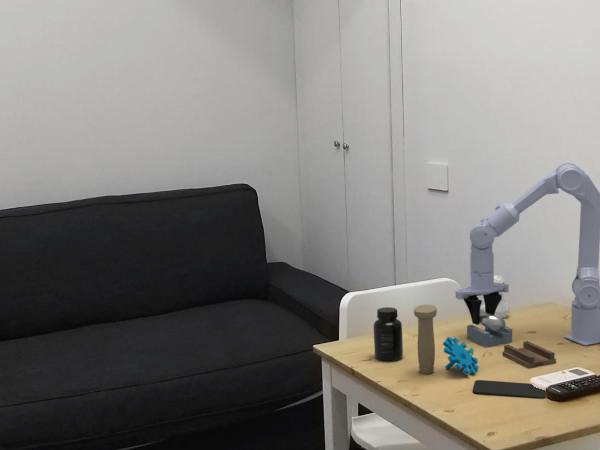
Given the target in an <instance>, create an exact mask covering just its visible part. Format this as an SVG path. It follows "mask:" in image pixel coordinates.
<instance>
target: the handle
mask: <svg viewBox="0 0 600 450" xmlns="http://www.w3.org/2000/svg"><path fill="white" fill-rule="evenodd" d="M437 309H438V308H437V307H436V305H432V304H420V305H417V306H415V307H414V309H413V313H414V317H416V318H417V322H418V323H417V324H418V325H417V360H418V369H419V372H420V373H421V374H423V375H426V374H427V375H430V374H433V373H434V372H435V366H434V365H435V361H436V357H435V356H436V344H435V333H434V318H435V317H436V316H437V311H438V310H437Z"/></svg>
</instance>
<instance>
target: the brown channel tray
mask: <svg viewBox="0 0 600 450" xmlns="http://www.w3.org/2000/svg"><path fill="white" fill-rule="evenodd" d="M502 356H503V357H504V358H506V359H509V360H510V361H513V362H515V363H517V364H518V365H521V366H523V367H525V368H527V369H531V368H537V367H542V366H543V367H544V366H548V365H552V364H557V358H555V352H553V351H551V350H548V349H547V348H544V347H542V346H540V345H538V344H536V343H533V342H530V341H528V340H524V341H523V343H522V347H520V348H519V347H518V348H516V347H514V346H512V345H510V344H503V351H502Z"/></svg>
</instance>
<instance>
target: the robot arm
mask: <svg viewBox="0 0 600 450" xmlns="http://www.w3.org/2000/svg"><path fill="white" fill-rule="evenodd" d="M559 189H560V190H561V191H563V192H565V193H566V194H568V195H571V196H572V197H574V198H575V199H576V200H577V201H578V202H579V203H580V216H579V219H580V220H579V235H578V237H579V238H578V259H577V267H576V273H575V274H576V276H575V278H574V279H573V281H572V283H571V289H572V290H571V291H572V292H573V295H574V296H575V297H574V299H573V300H572V301H571V320H570V321H571V322H570V326H571V329H570V330H571V333H570V334H568V333H567V334H564V335H563V338H565V339H567V340H570V341H572V342H575V343H577V344H579V345H582V346H590V345H594V344H600V271H599V266H600V265H599V262H600V261H599V260H600V191H599V190H598V188H597V186H596V185H595V184H594V182H593V181H592V178H590V176H589V175H588V174H587V173H586V172H585V171H584V170H583V169H581V168H580V167H579V166H577V165H576V164H574V163H571V162H566V163H562V164H560V165H559V166H558V167H557V168H556V169H553V170H551V171H549V172H548V173H547V174H545V175H544V176H543V177H541V178H540V179H539V180H538V181H537V182H535V183H534V184H533V185H532V186H530V187H529V188H528V189H527V190H526V191H525V192H523V193H522V194H521V195H520V196H519V197H518V198H517V199H515V200H514V201H513V202H512V203H506V202H504V203H502V204H501V205H500V204H499V203H498V204H497V205H496V206H495V207H494V211H492V212H491V213H490V214H488V215H487V216H486V217H485V218H484V217H481V219H480V220H479V221H480V222H477V223H476V224H474V225H473V226H472V227H471V229H470V231H469V240H470V243H471V244H470V253H469V254H470V257H469V258H470V260H469V261H470V286H467V287H465V288H461V289H458V290H457V289H456V290H455V299H457V300H459V301H461V300H463V301H464V303H465V305H466V307H467V309H468V312H469V314H470V318H472V319H471V322H472V324H474V325H475V326H478V325H480V324H479V322H480V307H481V306H482V303H483V302H484V305H485V312H487V313H490V314H492V315H495V311H496V309H497V306H498V304H499V302H500V301H501V299H502V295H500V294H499V293H500V292H502V293H509V285H510V284H507V283H505V282H504V283H502V284H494V275H495V274H494V273H495V272H494V270H495V269H494V259H495V258H494V252H493V244H494V242H495V238H498V237H501V236H502V235H503V234H504V233H506V232H507V231H508V230H509V229H510V228H512V227H513V226H515V225H516V224H517V223H518V222H519V221H520V215H521V213H523V212H524V211H526V210H527V209H528V208H530V207H531V206H533V204H535V203H536V202H538V201H540V200H541V199H542V198H544V197H545V196H546V195H554V194H555V195H556V194H560V192H559ZM481 296H483V300H484V301H483V300H482V299H480V298H479V297H481Z"/></svg>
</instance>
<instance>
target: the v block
mask: <svg viewBox="0 0 600 450" xmlns="http://www.w3.org/2000/svg"><path fill="white" fill-rule="evenodd" d="M466 339H467V340H468V341H471V342H473V343H475V344H476V345H477V344H478V345H479V346H481V347H484V348H491V347H494V346H500V345H508V344H511V343H513V328H511V327H508V326H505V329H504V330H503V331H502V332H496V331H494V330H492V329H489V328H487V327H485V326H484V329H482V328H480V327H478V326H477V325H475V324H474V325H473V324H467V325H466Z"/></svg>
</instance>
